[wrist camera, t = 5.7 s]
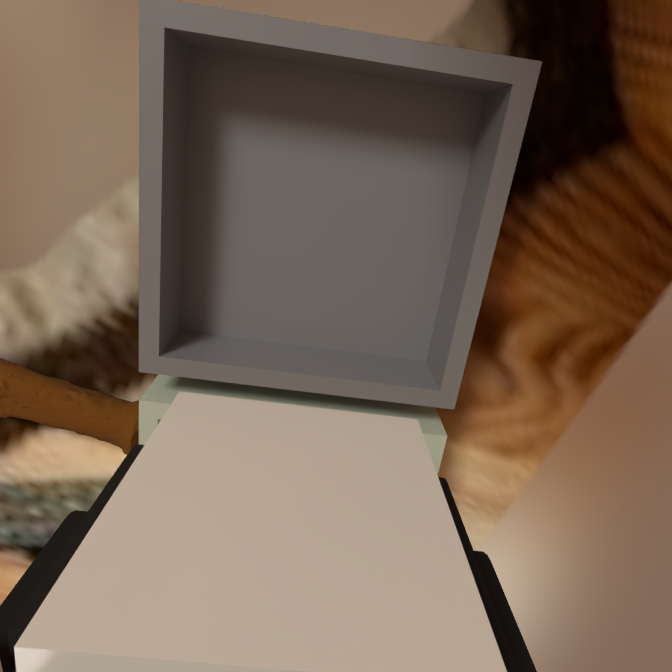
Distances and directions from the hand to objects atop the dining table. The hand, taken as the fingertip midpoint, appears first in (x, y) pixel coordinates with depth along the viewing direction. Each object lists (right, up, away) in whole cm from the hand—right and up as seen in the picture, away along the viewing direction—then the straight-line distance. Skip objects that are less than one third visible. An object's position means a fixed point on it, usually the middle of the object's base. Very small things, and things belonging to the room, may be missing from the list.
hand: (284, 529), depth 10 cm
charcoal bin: (0, +10, +15) cm, 18 cm away
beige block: (0, 0, 0) cm, 0 cm away
